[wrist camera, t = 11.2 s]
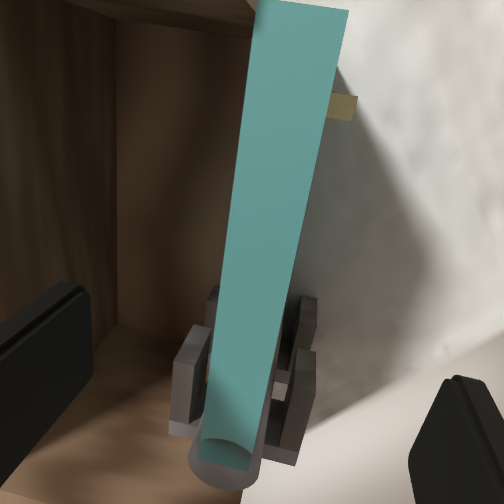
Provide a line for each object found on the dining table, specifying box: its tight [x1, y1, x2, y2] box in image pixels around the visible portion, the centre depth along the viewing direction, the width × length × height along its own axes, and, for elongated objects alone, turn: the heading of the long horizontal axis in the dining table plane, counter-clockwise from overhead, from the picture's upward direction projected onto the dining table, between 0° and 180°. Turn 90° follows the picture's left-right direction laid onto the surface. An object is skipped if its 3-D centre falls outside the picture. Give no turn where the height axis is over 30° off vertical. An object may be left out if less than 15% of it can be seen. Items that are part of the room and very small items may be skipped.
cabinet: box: [0, 0, 317, 504], centre depth 17 cm, size 14×21×13 cm
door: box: [188, 0, 358, 491], centre depth 17 cm, size 3×16×12 cm, turn 171°
